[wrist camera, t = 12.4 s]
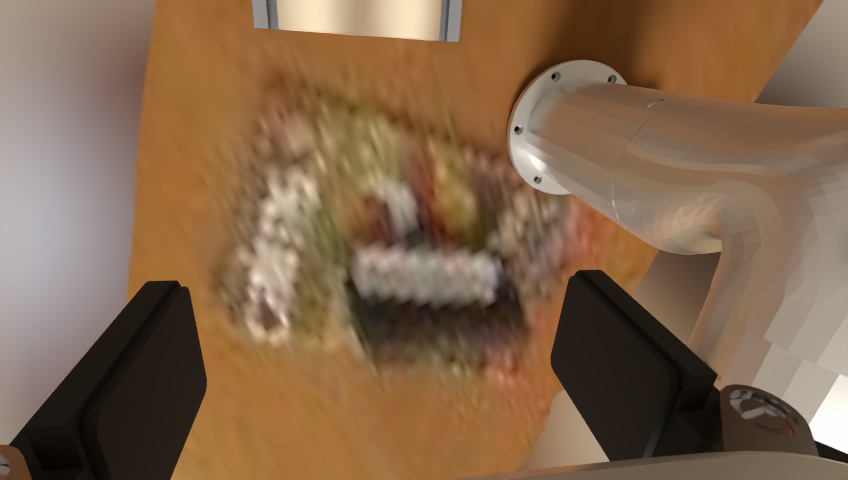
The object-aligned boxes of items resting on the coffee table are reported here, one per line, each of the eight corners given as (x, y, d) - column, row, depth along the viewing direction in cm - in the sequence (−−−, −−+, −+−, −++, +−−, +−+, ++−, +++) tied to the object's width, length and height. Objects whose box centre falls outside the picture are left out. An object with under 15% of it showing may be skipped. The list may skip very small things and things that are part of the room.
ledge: (435, -15, 34) (443, -20, 31) (431, 40, 36) (438, 40, 33) (280, -29, 32) (274, -36, 29) (284, 30, 34) (278, 28, 31)
